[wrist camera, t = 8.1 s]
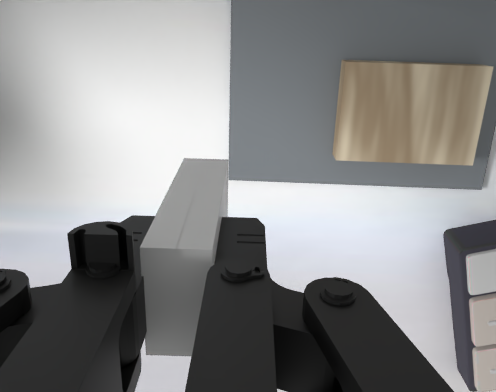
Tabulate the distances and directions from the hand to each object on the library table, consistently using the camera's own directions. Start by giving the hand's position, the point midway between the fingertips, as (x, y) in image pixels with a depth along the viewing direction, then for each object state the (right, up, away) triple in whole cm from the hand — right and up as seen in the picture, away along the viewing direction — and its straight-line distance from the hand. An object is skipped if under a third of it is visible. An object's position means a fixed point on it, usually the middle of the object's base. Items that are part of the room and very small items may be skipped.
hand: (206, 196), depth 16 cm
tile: (+8, +6, +18) cm, 20 cm away
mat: (+10, +11, +17) cm, 23 cm away
